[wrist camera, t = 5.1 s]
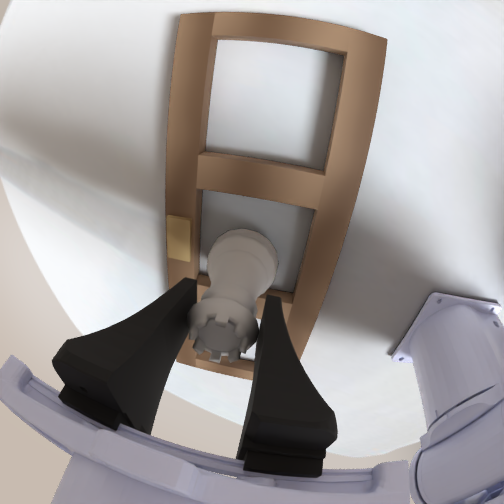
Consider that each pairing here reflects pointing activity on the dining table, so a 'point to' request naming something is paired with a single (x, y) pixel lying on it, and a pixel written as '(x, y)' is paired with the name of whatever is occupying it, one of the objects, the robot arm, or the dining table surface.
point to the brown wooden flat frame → (265, 171)
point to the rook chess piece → (232, 294)
